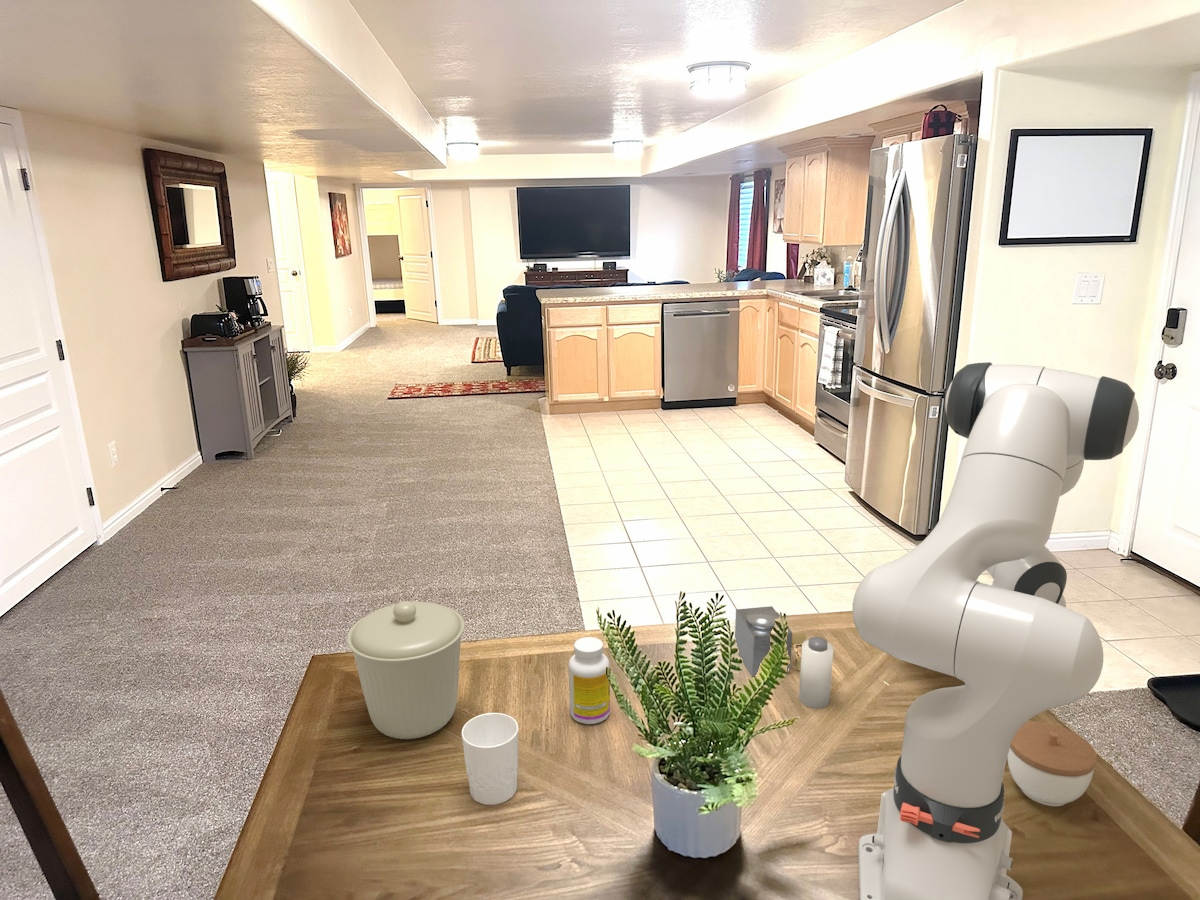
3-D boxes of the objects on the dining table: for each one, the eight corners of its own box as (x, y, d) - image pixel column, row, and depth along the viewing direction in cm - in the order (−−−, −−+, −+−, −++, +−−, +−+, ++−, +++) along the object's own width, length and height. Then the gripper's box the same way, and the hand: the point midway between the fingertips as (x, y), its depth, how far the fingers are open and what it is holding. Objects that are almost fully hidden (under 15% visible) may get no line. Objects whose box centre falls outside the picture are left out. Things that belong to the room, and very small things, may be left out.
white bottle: (825, 711, 132) (830, 652, 128) (795, 703, 134) (799, 645, 131) (832, 695, 136) (836, 637, 133) (802, 688, 138) (806, 631, 135)
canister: (412, 770, 119) (400, 644, 113) (333, 729, 129) (318, 611, 123) (493, 709, 133) (486, 594, 127) (416, 677, 143) (406, 568, 137)
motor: (824, 669, 144) (827, 624, 141) (752, 676, 142) (754, 631, 139) (796, 633, 156) (799, 591, 153) (729, 639, 154) (731, 597, 151)
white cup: (532, 782, 116) (529, 722, 113) (498, 816, 110) (495, 754, 107) (489, 764, 120) (485, 706, 117) (454, 796, 114) (449, 736, 111)
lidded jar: (1101, 822, 107) (1113, 763, 104) (1015, 814, 109) (1025, 755, 106) (1069, 769, 117) (1080, 714, 115) (991, 762, 119) (1000, 708, 116)
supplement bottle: (616, 720, 130) (615, 650, 126) (578, 730, 128) (576, 658, 124) (601, 698, 136) (600, 630, 132) (564, 707, 134) (562, 638, 130)
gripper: (934, 570, 144) (861, 577, 142) (1006, 627, 124) (923, 636, 123) (930, 602, 146) (859, 609, 144) (1001, 663, 126) (919, 672, 124)
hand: (888, 622), depth 133 cm, fingers open, 8 cm apart
